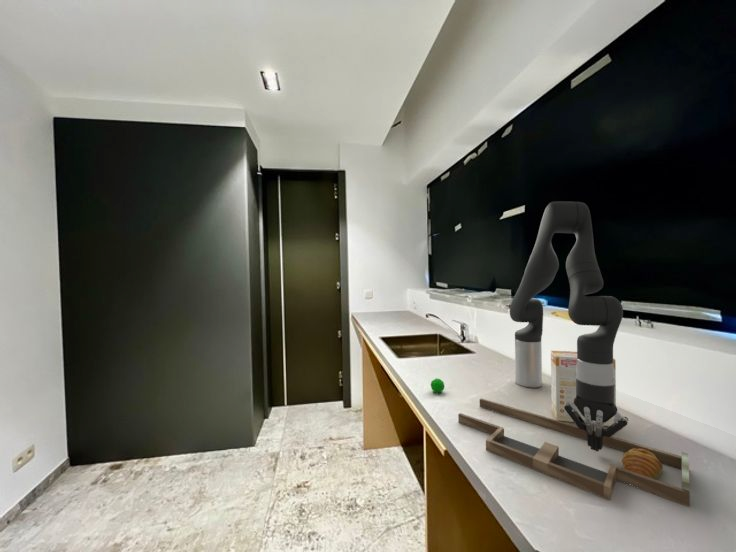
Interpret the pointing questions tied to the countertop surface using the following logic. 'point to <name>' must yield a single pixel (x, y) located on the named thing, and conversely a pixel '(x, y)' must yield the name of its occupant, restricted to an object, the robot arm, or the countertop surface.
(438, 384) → the polyhedron
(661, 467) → the pastry
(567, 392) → the coffeecake box
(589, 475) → the mats
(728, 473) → the countertop surface
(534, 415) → the lane
